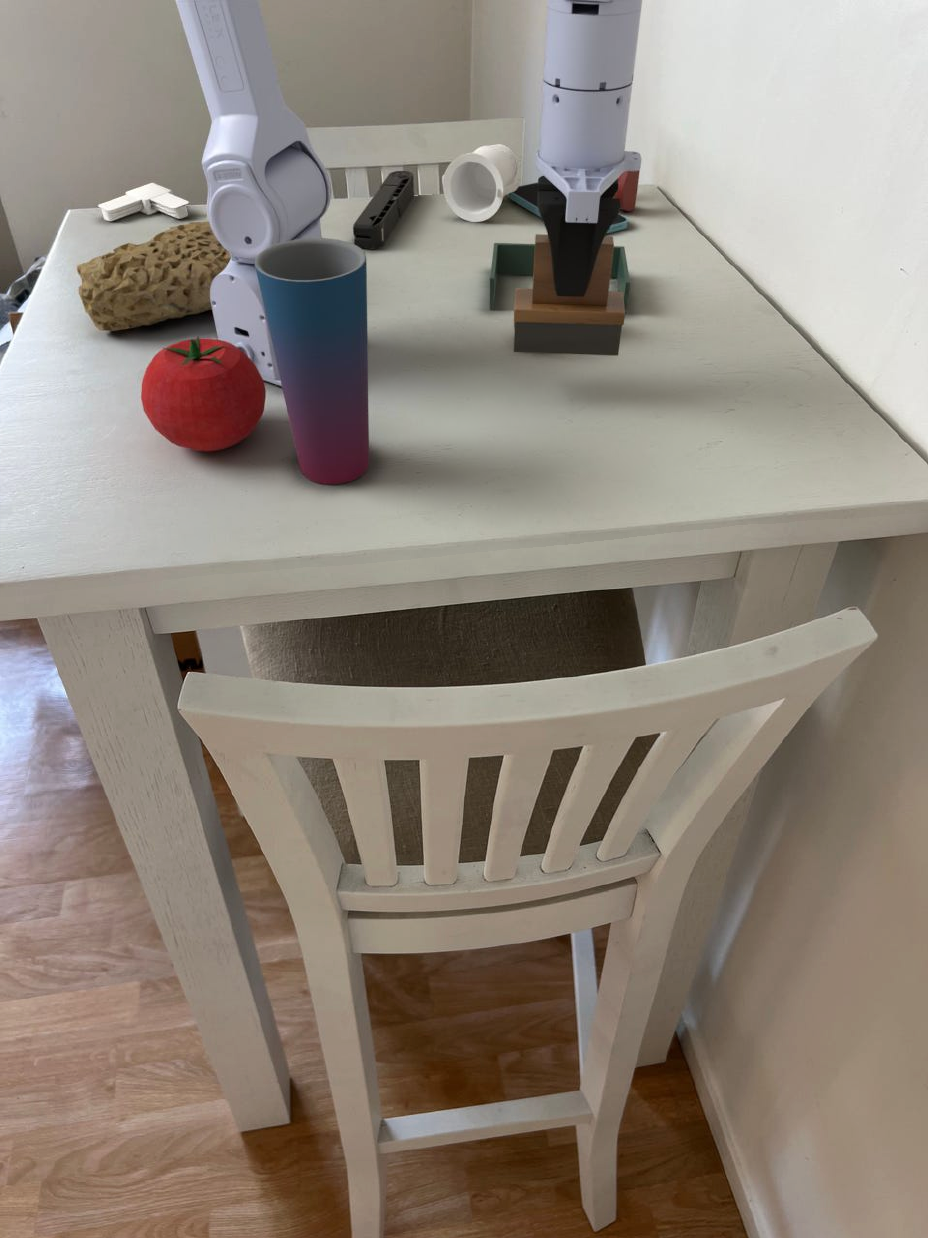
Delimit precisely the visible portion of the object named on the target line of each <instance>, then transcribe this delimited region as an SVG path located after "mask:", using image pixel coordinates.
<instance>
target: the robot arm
mask: <svg viewBox="0 0 928 1238" xmlns="http://www.w3.org/2000/svg"><path fill="white" fill-rule="evenodd" d="M174 1H175V4H176V8H177V10H178V14H179V16H180V20H181V23H182V27H183V31H184V33H185V34H184V35H185V36H186V40H187V43H188V47H189V50H190V53H191V56H192V59H193V63H194V66H195V69H196V73H197V77H198V79H199V83H200V86H201V90H202V93H203V97H204V99H205V103H206V105H207V109H208V113H209V116H210V120H211V124H210V129H209V133H208V137H207V140H206V143H205V147H204V149H203V154H202V159H201V167H202V170H203V173H204V176H205V180H206V185H207V198H206V199H207V200H206V214H207V219H208V220H207V221H209V223H210V226H211V229H212V231H213V233H214V235H215V236H216V238H217V240H218V241H219V242H220V244H221V245H222V246H223V247H224V248H225V249H226V250H227V251H228V252H229V253H230V255H231V259H230V262H229V263H228V265H227V267H226V268H225V269H224V270H223V271H222V272H221V273H220V274H218V275H217V276H216V277H215V278H214V279H213V281H212V284H211V288H210V301H211V306H212V309H211V310H212V315H213V320H214V325H215V330H216V335H217V340H222V341H226V342H229V343H231V344H233V345H234V346H236V347H237V348H239V349H240V350H241V351H243V352H244V353H245V354H246V355H247V356H248V357H249V358H250V359H251V361H252V362H253V363H254V364H255V365H256V367H257V369H258V371H259V373H260V375H261V377H262V379H263V381H264V382H267V383H271V384H274V385H276V386H280V387H282V385H281V380H280V376H279V371H278V367H277V362H276V358H275V353H274V349H273V344H272V340H271V335H270V331H269V326H268V322H267V317H266V313H265V308H264V304H263V299H262V295H261V290H260V286H259V281H258V277H257V273H256V268H255V259H256V257H257V256H258V255H259V254H260V253H261V252H262V251H264V250H265V249H267V248H269V247H271V246H273V245H276V244H279V243H282V242H286V241H290V240H297V239H305V238H323V236H322V227H321V219H322V218H323V217H324V216H325V215H326V213H327V211H328V209H329V207H330V204H331V200H332V183H331V179H330V176H329V173H328V170H327V169H326V167H325V165H324V163H323V162H322V161H321V159H320V157H319V156H318V155H317V153H316V151H315V150H314V148H313V145H312V144H311V140H310V138H309V133H308V130H307V126H306V124H305V123H304V121H302V119H301V118H300V117H299V116H298V115H297V114H295V112H294V111H292V110H291V109H290V108H289V107H288V106H287V104H286V103H285V101H284V97H283V93H282V89H281V85H280V81H279V76H278V72H277V68H276V65H275V62H274V57H273V53H272V50H271V45H270V41H269V38H268V34H267V29H266V26H265V21H264V17H263V14H262V10H261V6H260V1H259V0H174ZM642 6H643V0H547V6H546V21H545V22H546V24H545V25H546V26H545V43H544V59H543V61H544V62H543V75H542V76H543V79H542V93H541V96H542V97H541V115H540V128H539V129H540V131H539V149H538V150H537V152H536V154H535V167H536V170H538V172H539V173H540V174H541V176H539V177H538V179H537V182H538V189H539V191H538V199H537V206H538V209H539V212H540V215H541V217H542V218H541V217H540V218H541V220H542V222H543V224H544V228H545V230H546V233H547V235H548V238H549V242H550V248H551V256H552V268H553V279H554V286H555V291H556V295H557V296H571V297H583V296H584V295H585V293H586V290H587V288H588V285H589V282H590V279H591V275H592V272H593V268H594V265H595V261H596V258H597V255H598V252H599V249H600V246H601V244H602V241H603V239H604V237H605V236H606V235H607V234H608V233H607V231H608V230H609V228H610V226H611V225H612V223H613V222H614V220H615V219H616V218H617V215H618V213H619V214H620V211H621V203H620V199H619V198H613V197H614V195H615V193H616V192H617V190H618V179H617V178H618V177H619V176H620V175H621V174H622V173H623V172H625V171H638V170H641V167H642V160H643V159H642V156H641V154H640V153H639V151H631V150H630V151H627V150H626V143H627V142H626V141H627V133H628V124H629V117H630V116H629V115H630V107H631V100H632V92H633V91H632V90H633V82H634V75H635V66H636V59H637V50H638V49H637V48H638V41H639V32H640V23H641V14H642ZM606 233H607V234H606Z"/></svg>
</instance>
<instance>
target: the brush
mask: <svg viewBox="0 0 928 1238" xmlns="http://www.w3.org/2000/svg"><path fill="white" fill-rule="evenodd" d="M534 244H535V253H534V271H533V275H532V288H515V290H514V291H515V292H514V305H513V323H514V322H515V331H514V335H513V353H527V354H530V353H531V354H557V355H582V356H583V355H584V356H586V355H589V356H611V357H612V356H614V357H615V356H616V357H618V356H619V354H620V353H619V352H620V344H621V337H622V329H623V326H624V325H625V318H626V314H625V308H624V301H623V294H622V292H619V291H610V283H611V278H610V276H611V267H612V258H613V250H614V246H615V242H614V236H612V235H611V236H610V235H609V236H608V235H607V236H606V235H605V237H604V239H603V241H602V244H601V246H600V249H599V252H598V255H597V258H596V261H595V265H594V268H593V272H592V275H591V279H590V282H589V285H588V288H587V290H586V293H585V295H584V296H583V297H571V296H557V295H556V291H555V286H554V279H553V268H552V256H551V248H550V242H549V238H548V234H542V233H541V234H540V233H539V234H537V233H536V234H535V236H534Z"/></svg>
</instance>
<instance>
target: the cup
mask: <svg viewBox="0 0 928 1238" xmlns="http://www.w3.org/2000/svg"><path fill="white" fill-rule="evenodd" d="M367 266H368V265H367V255H366V252H365V251H364V250H363V248H360V247H358V246H356V245H354V243H352V242H349V241H345V240H342V239H334V238H328V237H327V238H326V237H322V238H305V239H297V240H290V241H286V242H282V243H279V244H276V245H273V246H271V247H269V248H267V249H265V250H264V251H262V252H261V253H260V254H259V255H258V256H257V257H256V259H255V268H256V273H257V277H258V281H259V286H260V290H261V295H262V299H263V304H264V308H265V313H266V317H267V322H268V326H269V331H270V335H271V340H272V344H273V349H274V353H275V358H276V362H277V367H278V371H279V376H280V380H281V385H282V386H281V389H282V393H283V398H284V402H285V407H286V411H287V414H288V420H289V425H290V430H291V435H292V439H293V442H294V447H295V452H296V456H297V461H298V465H299V470H300V472H301V474H302V475H303V476H304V477H305V479H308V480H309V481H312V482H314V483H317V484H321V485H341V484H347V483H350V482H352V481H355V480H357V479H359V478H360V477H361V476H363V475H364V474H365V473H366V472H367V470H368V469H369V466H370V428H369V427H370V425H369V423H370V422H369V421H370V420H369V418H370V417H369V416H370V415H369V366H368V365H369V351H368V347H369V345H368V342H369V341H368V286H367V285H368V282H367V281H368V279H367V278H368V277H367V276H368V272H367V269H368V268H367Z"/></svg>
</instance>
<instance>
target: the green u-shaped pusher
mask: <svg viewBox="0 0 928 1238" xmlns="http://www.w3.org/2000/svg"><path fill="white" fill-rule="evenodd" d="M534 253H535V243H513V242H512V243H511V242H508V243H507V242H494V243H493V250H492V258H491V266H490V275H489V310H490V311H494V309H495V300H496V299H495V298H496V289H497V282H498V281H497V280H498V275H502V276H503V275H505V276H506V275H507V276H533V271H534ZM610 279H616V282H617V288H618V292H622V294H623V301H624V308H625V315H626V314H627V310H628V303H629V302H628V301H629V295H630V288H631V278H630V273H629V267H628V262H627V255H626V249H625V246H623V245H619V246H618V245H614V250H613V258H612V267H611V276H610Z"/></svg>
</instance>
